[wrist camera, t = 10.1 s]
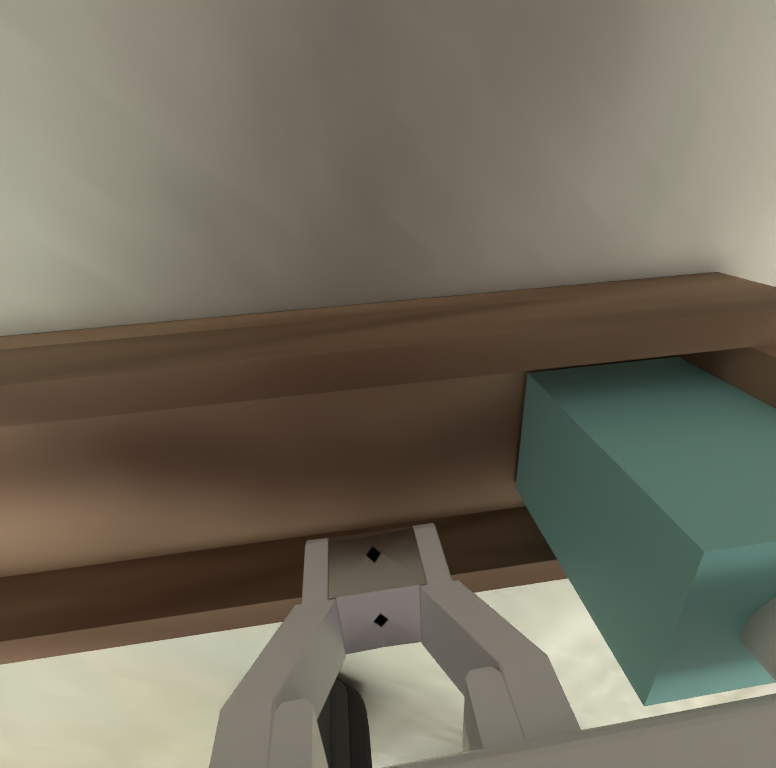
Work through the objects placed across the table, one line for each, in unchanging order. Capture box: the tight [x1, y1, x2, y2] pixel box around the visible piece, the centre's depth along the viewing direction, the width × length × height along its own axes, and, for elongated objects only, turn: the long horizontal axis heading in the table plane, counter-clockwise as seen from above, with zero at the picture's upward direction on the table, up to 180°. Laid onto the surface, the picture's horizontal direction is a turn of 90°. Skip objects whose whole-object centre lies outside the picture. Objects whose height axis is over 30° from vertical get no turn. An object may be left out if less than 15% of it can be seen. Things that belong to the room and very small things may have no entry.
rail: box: [0, 272, 776, 665], centre depth 12 cm, size 9×27×6 cm, turn 93°
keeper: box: [516, 357, 776, 706], centre depth 11 cm, size 5×5×8 cm
